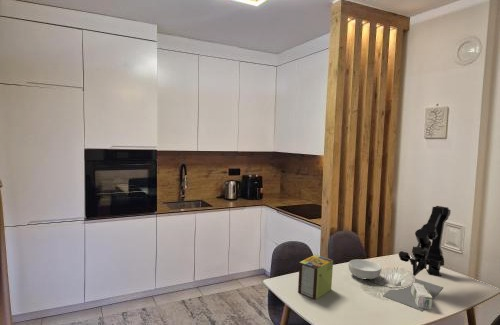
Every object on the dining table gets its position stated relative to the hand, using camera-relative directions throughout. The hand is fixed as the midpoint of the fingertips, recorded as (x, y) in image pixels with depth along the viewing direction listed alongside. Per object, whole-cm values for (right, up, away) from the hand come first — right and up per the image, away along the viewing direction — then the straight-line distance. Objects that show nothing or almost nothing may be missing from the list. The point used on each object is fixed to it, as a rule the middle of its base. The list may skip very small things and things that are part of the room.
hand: (414, 275), depth 161 cm
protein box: (-50, -8, 0) cm, 50 cm away
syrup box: (+1, -6, 0) cm, 7 cm away
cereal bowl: (-19, -7, +18) cm, 27 cm away
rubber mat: (+1, -9, +3) cm, 10 cm away
